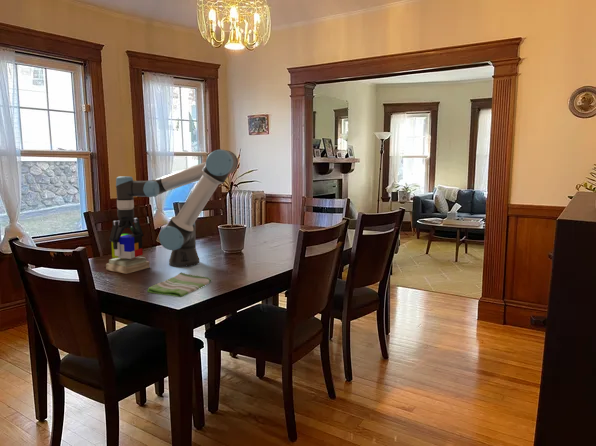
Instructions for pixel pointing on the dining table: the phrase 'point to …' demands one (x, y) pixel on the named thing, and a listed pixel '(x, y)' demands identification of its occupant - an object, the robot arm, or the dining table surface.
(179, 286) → the dish towel
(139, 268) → the plinth
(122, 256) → the puzzle toy
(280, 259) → the dining table surface
